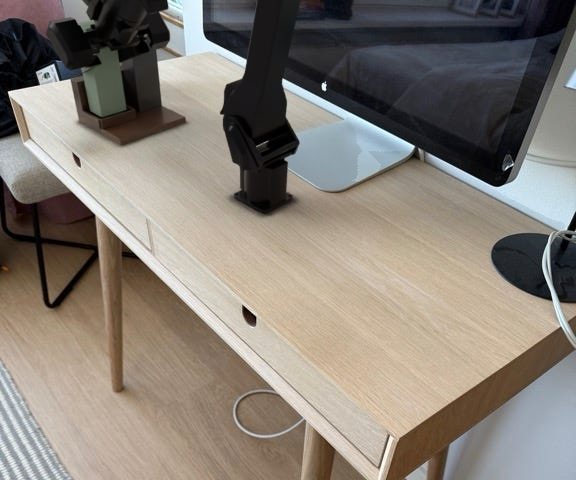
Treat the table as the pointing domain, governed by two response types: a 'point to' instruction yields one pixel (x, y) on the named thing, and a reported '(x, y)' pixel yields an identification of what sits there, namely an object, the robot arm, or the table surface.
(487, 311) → the table surface
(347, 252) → the table surface
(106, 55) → the green upright block
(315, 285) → the table surface
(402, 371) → the table surface
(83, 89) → the frame
